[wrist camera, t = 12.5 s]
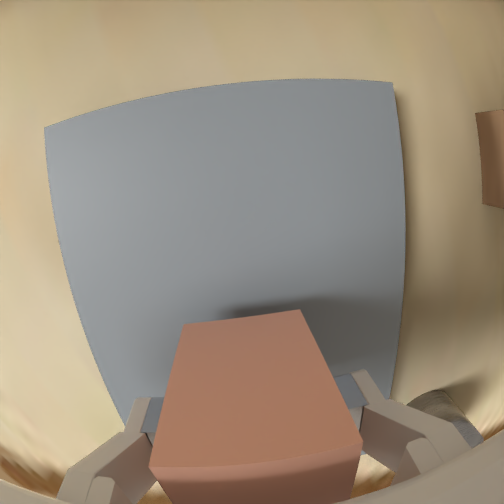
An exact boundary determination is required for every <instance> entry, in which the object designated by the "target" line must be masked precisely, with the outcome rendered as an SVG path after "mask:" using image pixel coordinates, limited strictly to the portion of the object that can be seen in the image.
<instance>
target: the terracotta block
mask: <svg viewBox="0 0 504 504" xmlns="http://www.w3.org/2000/svg"><path fill="white" fill-rule="evenodd" d="M362 446H363V440H362V437H361V435H360V433H359V431H358V429H357V427H356V425H355V423H354V420H353V418H352V416H351V414H350V412H349V410H348V408H347V406H346V403H345V401H344V399H343V397H342V395H341V393H340V391H339V389H338V387H337V385H336V382H335V380H334V378H333V376H332V374H331V372H330V370H329V368H328V366H327V364H326V362H325V360H324V357H323V355H322V353H321V351H320V349H319V347H318V345H317V343H316V341H315V339H314V337H313V335H312V333H311V331H310V329H309V327H308V325H307V323H306V321H305V318H304V316H303V314H302V312H301V310H300V309H298V310H291V311H285V312H278V313H271V314H264V315H257V316H249V317H242V318H234V319H226V320H217V321H209V322H199V323H190V324H184V325H183V328H182V332H181V335H180V339H179V343H178V347H177V350H176V354H175V358H174V362H173V365H172V369H171V373H170V377H169V381H168V385H167V389H166V393H165V397H164V401H163V405H162V409H161V413H160V418H159V422H158V426H157V430H156V435H155V439H154V443H153V448H152V452H151V457H150V462H149V466H148V467H149V468H150V470H151V471H152V473H153V475H154V476H155V478H156V479H157V481H158V482H159V484H160V485H161V487H162V488H163V490H164V491H165V493H166V494H167V496H168V497H169V499H170V500H171V501H172V503H173V504H333V503H337V502H341V501H345V500H349V499H350V496H351V492H352V488H353V485H354V481H355V477H356V473H357V468H358V464H359V460H360V455H361V451H362Z"/></svg>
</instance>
